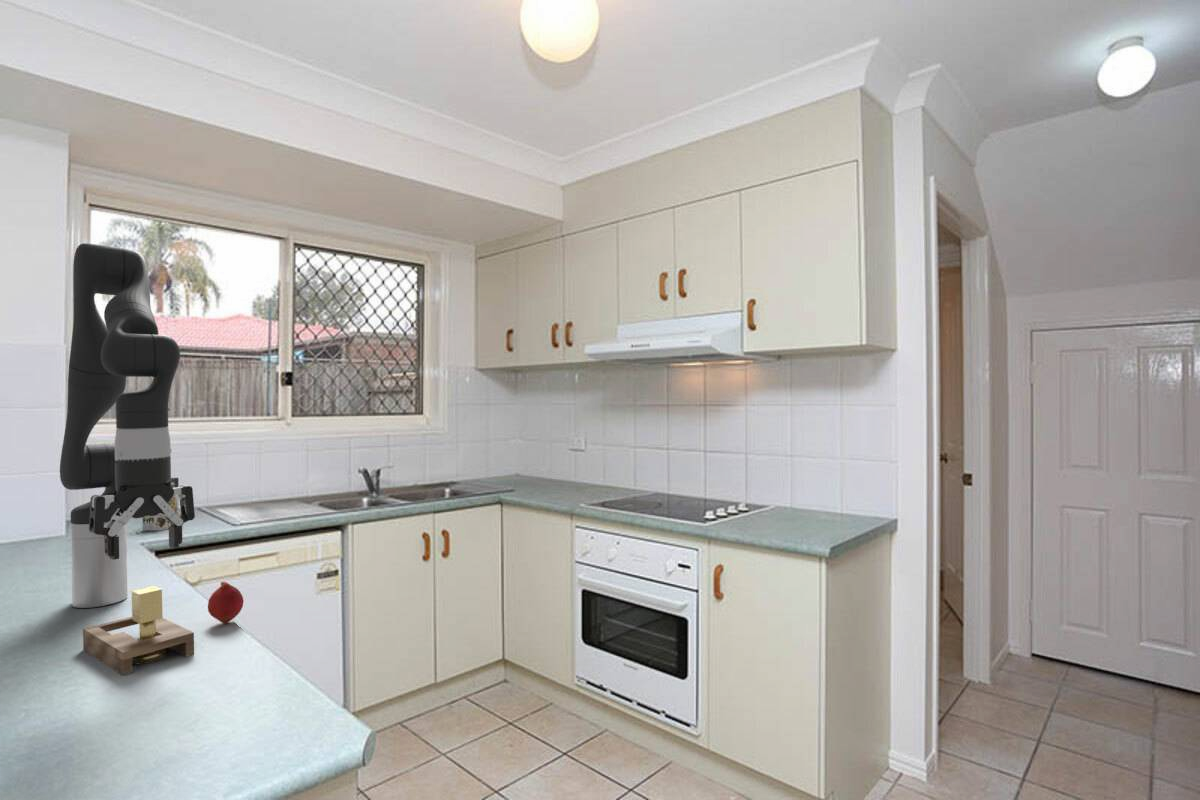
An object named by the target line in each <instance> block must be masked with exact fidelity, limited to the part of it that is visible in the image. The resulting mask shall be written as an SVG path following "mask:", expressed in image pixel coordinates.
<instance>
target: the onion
mask: <svg viewBox="0 0 1200 800" xmlns="http://www.w3.org/2000/svg"><path fill="white" fill-rule="evenodd" d="M243 607H244V597H243V594H242V592H241V591H240V590H239V589H238V588H237V587H236V586H233V585H231V584H230V583H228V582H227V581H224V580H223V581H221V582H220V587H218V588H217V589H215V591H214V592H213V593H211V595H210V597H209V599H208V603H207V611H208V613H209V614H210V616H211V617H213V618H214V619H216V620H217V621H219V622H220V623H221V624H224V623H225V624H228V623H230V622H231V621H232V620H234V619H235V618H236V617H237V616H238V615H239V614H240V613H241V611H242V609H243Z"/></svg>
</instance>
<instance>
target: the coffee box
mask: <svg viewBox="0 0 1200 800" xmlns="http://www.w3.org/2000/svg"><path fill="white" fill-rule="evenodd" d="M171 486H172V488H176V487H180V485H179V477H171ZM168 505H169V506H170V507H171V508H172V509H173V510H174V511H175V512H176V514H177V515H178V516H179V515H180V499H178V498H177V497H176V495H175V494H174V495H173V497H172V498H171V500H170V501H169V502H168ZM141 520H142V523H141V524H142V525H141V526H142V527H141V528H142V531H144V532H145V531H156V532H157V531H158V532H159V531H163V530H167V529H169V525H171V523H170V522H169V521H168V520H167V519H166V518H165V517H163V516H162V515H161V514H160V513H159V514H157V515H156V516H144V517H142V519H141Z"/></svg>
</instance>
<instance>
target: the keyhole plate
mask: <svg viewBox="0 0 1200 800" xmlns="http://www.w3.org/2000/svg"><path fill="white" fill-rule="evenodd" d="M135 625H139V623H137V622H135V621H133V620H132V616H129V617H124V618H120V619H117V620H116V619H115V620H112V621H108V622H104V623H102V624H97V625H92V626H89V627H84V628H82V641H83V642H82V648H83V651H85V652H86V651H87V653H88V654H89V655H90V656H92V655H93V658H95V657H96V659H97V658H98V659H99V660H98V659H97V660H98V661H100V662H102V663H103V662H104V663H103V664H105V665H106V664H107V665H106V666H108V667H109V666H110V667H109V668H111V667H112V668H113V669H112V668H111V669H112V670H114V671H115V670H116V671H115V672H117V671H118V672H119V673H118V672H117V673H118V674H120V675H121V674H122V675H121V676H123V675H124V676H127V675H131V674H133V663H132V658H133V657H136V656H140V655H143V654H146V653H150V652H153V651H157V650H160V649H164V648H169V647H170V649H171V648H172V650H173V649H174V650H173V651H175V650H176V652H177V651H178V652H177V653H179V652H180V653H179V654H181V653H182V654H181V655H183V654H184V655H183V656H184V657H189V656H192V655H195V632H193V631H192V630H190V629H187V628H185V627H183V626H181V625H179V624H177V623H175V622H173V621H170V620H168V619H166V618H164V617H162V618H160V619H157V620H156V636H155V637H152V638H148V639H144V640H141V641H140V639H137V638H136V637H133V636H132V635H130V634H128V633H126V632H125V631H122V632H118V633H114V634H112V633H110V632H111V631H115V630H119V629H123V628H127V627H128V628H129V627H131V626H135ZM188 655H189V656H188ZM130 673H131V674H130ZM126 674H127V675H126Z"/></svg>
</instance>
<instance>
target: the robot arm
mask: <svg viewBox="0 0 1200 800" xmlns="http://www.w3.org/2000/svg"><path fill="white" fill-rule="evenodd" d="M146 262H147V261H146V259H145V258H144V256H143V255H142V254H141V252H138V251H136V250H133V249H130V248H129V249H128V248H122V247H117V246H116V247H115V246H110V245H109V246H108V245H101V244H96V243H95V244H94V243H84V242H83V243H80V244H79V245H78V246H77V247H76V249H75V253H74V257H73V265H72V266H73V268H72V269H73V271H72V283H73V284H72V291H73V293H72V295H73V296H72V297H73V298H72V303H73V304H72V305H73V308H72V309H73V312H72V313H73V315H72V317H73V318H72V319H73V320H72V321H73V322H72V334H71V342H70V343H71V345H70V353H69V360H68V362H69V363H68V373H67V378H68V379H67V406H66V407H67V409H66V410H67V411H66V419H65V420H66V421H65V429H64V434H63V441H62V447H61V454H60V460H59V461H60V463H59V478H60V482H61V484H62V486H63V487H64V488H65V489H67V490H69V491H70V490H71V491H73V490H74V491H76V490H77V491H78V490H89V489H91V490H92V489H101V488H104V491H103V492H102V493H101V494H93V495H92V496H91V497H90V501H88V502H86V503H83V504H80V505H78V506H76V507H73V509H72V510H71V512H70V542H71V543H70V545H71V546H70V547H71V550H70V551H71V552H70V553H71V595H72V596H71V599H72V601H71V602H72V604H71V605H72V607H73V608H79V609H86V608H87V609H88V608H97V607H98V608H99V607H104V606H107V605H112V604H116V603H119V602H121V601H122V602H123V601H124V600H126V599H127V598H128V554H127V553H128V551H127V550H128V547H127V523H128V522H129V521H130V519H131V518H133V519H140V518H142V517H144V516H156V515H157V514H159V513H160V514H161V515H162V516H163V517H165V518H166V519H167V520H168V521H169V522H170V523H171V525H169V528H168V545H169V546H168V547H169V548H171V549H178V548H180V545H181V544H182V543H183V526H184V524H185V523H187V522H189V521H192V520H194V519H195V518H196V515H195V514H196V513H195V505H194V504H195V503H194V492H193V491H194V490H193V487H192V486H191V485H185V484H182V485H179V487H176V488H172V486H171V478H172V469H171V468H172V467H171V466H172V463H171V462H172V461H171V460H172V459H171V453H172V447H171V437H170V432H169V431H170V430H169V400H170V399H169V398H170V393H171V389H172V384H173V381H174V378H175V375H176V372H177V369H178V366H179V362H180V359H181V350H180V346H179V345H178V343H177V341H176V340H175V339H174V338H172V336H169V335H166V334H159V328H158V327H159V326H158V324H157V322H156V318H155V316H154V313H153V311H152V308H151V293H150V292H151V290H150V281H149V280H150V279H149V271H148V266H147V265H148V264H147V263H146ZM96 294H97V295H105V296H106V295H109V296H113V297H112V298H111V299H110V300H109V301H108V302H107V304H106V306H105V308H104V312H103V313H104V315H103V317H104V320H103V318H102V316H101V314H100V312H99V310H98V308H97V305H96V301H95V297H96ZM127 377H129V378H130V377H131V378H132V377H133V378H134V377H137V378H138V377H143V378H145V377H146V378H150V377H152V378H153V380H152V381H151V384H149V386H147V387H145V388H141V389H137V390H130V391H126V392H125V390H126V386H127ZM114 405H115V424H116V425H115V426H116V427H115V428H116V429H115V436H114V443H95V444H87V442H88V439H89V436H90V434H91V432H92V430H93V429H94V428H95V426H96V425H97V423H98V422H99V421H100V420H101V419H102V417H104V416H105V415H106V414H107V412H109V411H110V410H111V408H112V407H113V406H114ZM174 494H175V495H176V497H177V498H178V499H179V510H180V514H179V516H178V515H177V514H176V512H175V511H174V510H173V509H172V508H171V507H170V506H169V505H168V502H169V501H170V500H171V498H172V497H173V495H174Z"/></svg>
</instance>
